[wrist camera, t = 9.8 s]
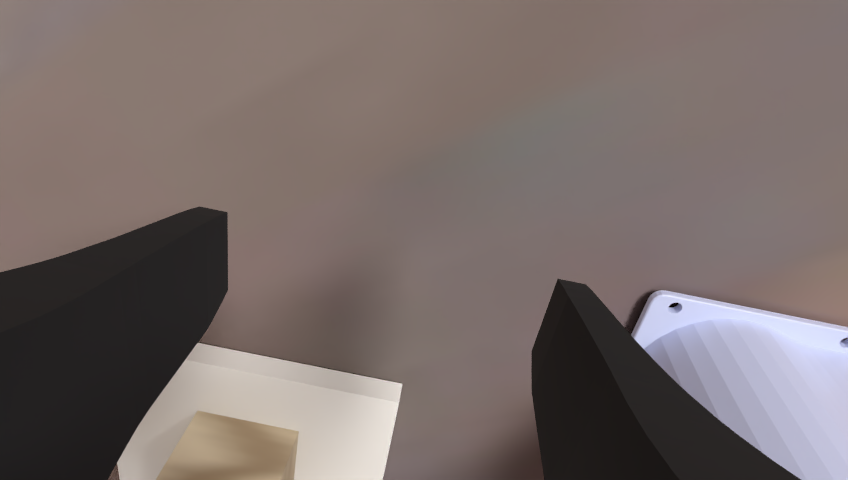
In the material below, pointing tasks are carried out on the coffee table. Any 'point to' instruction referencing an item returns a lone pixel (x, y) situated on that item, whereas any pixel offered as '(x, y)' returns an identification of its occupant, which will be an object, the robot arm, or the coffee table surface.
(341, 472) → the ceramic tile
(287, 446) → the maple cube
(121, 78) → the coffee table surface
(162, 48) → the coffee table surface
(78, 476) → the robot arm
